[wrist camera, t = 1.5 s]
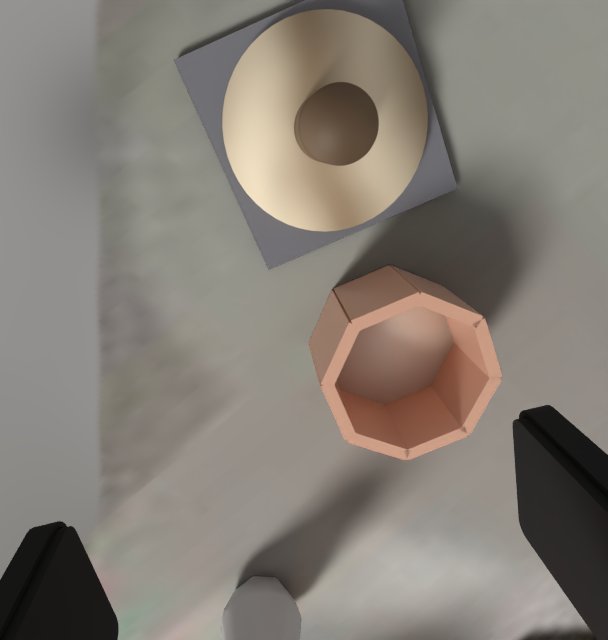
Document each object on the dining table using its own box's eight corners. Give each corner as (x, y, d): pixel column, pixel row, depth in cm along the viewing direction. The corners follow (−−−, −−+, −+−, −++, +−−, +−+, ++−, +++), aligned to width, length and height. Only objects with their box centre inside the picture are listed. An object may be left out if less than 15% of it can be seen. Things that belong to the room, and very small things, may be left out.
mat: (388, -36, 26) (391, -40, 25) (453, 187, 30) (457, 188, 29) (175, 61, 26) (173, 59, 26) (268, 267, 30) (268, 269, 30)
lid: (385, -24, 25) (417, -65, 20) (447, 183, 29) (486, 192, 24) (187, 65, 26) (171, 47, 21) (272, 258, 29) (276, 282, 24)
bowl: (431, 247, 31) (470, 270, 25) (471, 371, 34) (514, 417, 28) (292, 306, 31) (300, 341, 26) (344, 423, 34) (362, 478, 29)
